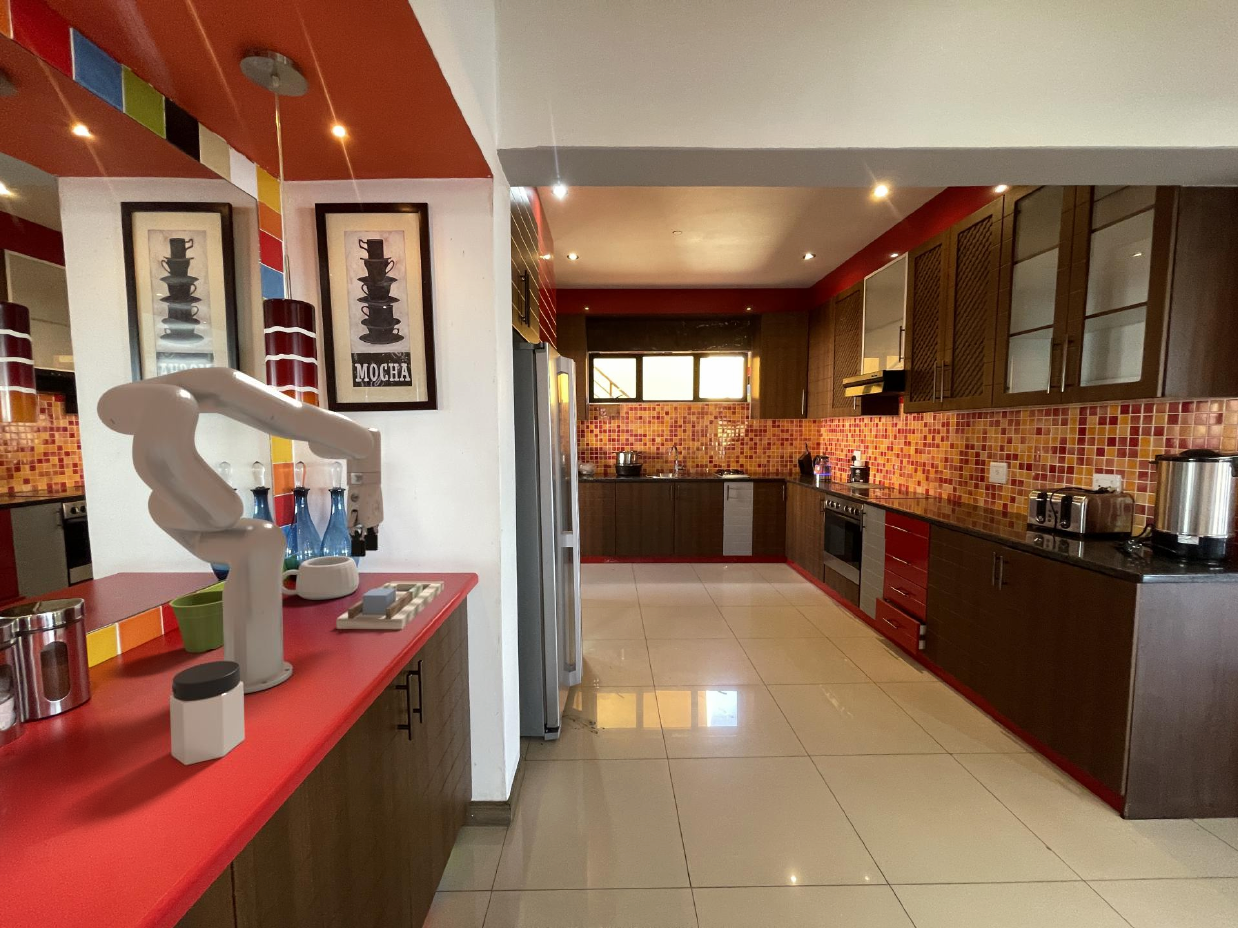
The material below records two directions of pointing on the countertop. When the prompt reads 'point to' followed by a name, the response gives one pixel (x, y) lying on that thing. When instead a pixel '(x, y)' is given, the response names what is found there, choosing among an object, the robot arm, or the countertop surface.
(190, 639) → the plant pot
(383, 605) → the slate block
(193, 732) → the jar
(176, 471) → the robot arm
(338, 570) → the mug
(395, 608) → the tunnel board
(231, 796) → the countertop surface
